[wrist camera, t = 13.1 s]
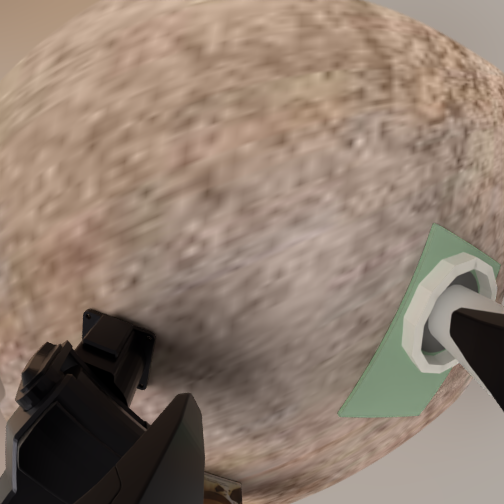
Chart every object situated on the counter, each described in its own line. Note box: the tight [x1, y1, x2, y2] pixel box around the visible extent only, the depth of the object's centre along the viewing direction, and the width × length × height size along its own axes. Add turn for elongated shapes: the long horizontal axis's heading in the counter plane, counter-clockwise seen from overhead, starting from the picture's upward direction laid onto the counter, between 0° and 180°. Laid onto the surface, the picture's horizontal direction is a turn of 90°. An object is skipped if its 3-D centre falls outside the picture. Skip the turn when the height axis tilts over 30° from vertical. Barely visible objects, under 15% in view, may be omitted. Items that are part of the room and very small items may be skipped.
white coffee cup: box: [428, 285, 504, 396], centre depth 17 cm, size 7×7×10 cm
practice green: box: [338, 223, 501, 418], centre depth 23 cm, size 21×13×3 cm, turn 161°
